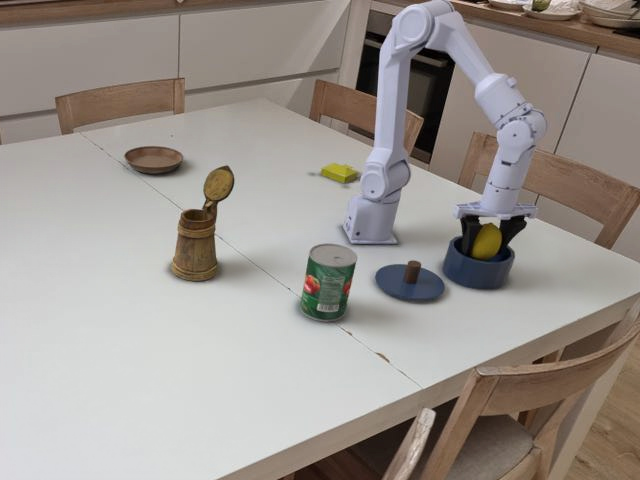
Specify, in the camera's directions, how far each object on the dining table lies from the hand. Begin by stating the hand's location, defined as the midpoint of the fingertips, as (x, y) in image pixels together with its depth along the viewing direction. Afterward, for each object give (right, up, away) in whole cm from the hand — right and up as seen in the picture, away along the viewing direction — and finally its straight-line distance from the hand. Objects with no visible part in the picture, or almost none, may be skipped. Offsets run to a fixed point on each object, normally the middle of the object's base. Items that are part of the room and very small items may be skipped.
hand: (480, 252), depth 126 cm
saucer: (-62, +29, +44) cm, 81 cm away
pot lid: (-14, -6, -1) cm, 15 cm away
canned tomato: (-32, -12, -8) cm, 35 cm away
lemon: (0, -2, +1) cm, 2 cm away
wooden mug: (-52, -2, +4) cm, 52 cm away
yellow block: (-16, +25, +41) cm, 50 cm away
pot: (0, -4, +3) cm, 5 cm away
